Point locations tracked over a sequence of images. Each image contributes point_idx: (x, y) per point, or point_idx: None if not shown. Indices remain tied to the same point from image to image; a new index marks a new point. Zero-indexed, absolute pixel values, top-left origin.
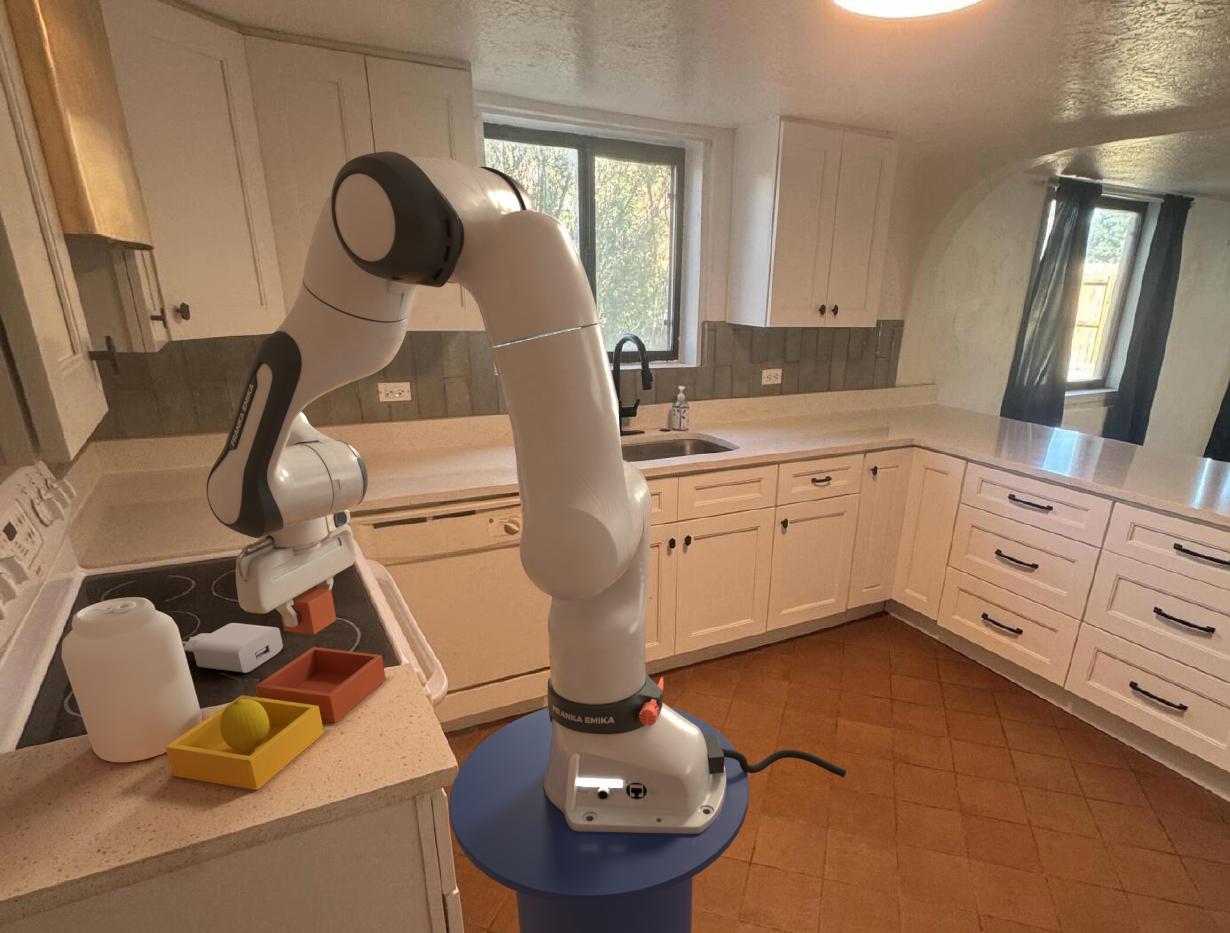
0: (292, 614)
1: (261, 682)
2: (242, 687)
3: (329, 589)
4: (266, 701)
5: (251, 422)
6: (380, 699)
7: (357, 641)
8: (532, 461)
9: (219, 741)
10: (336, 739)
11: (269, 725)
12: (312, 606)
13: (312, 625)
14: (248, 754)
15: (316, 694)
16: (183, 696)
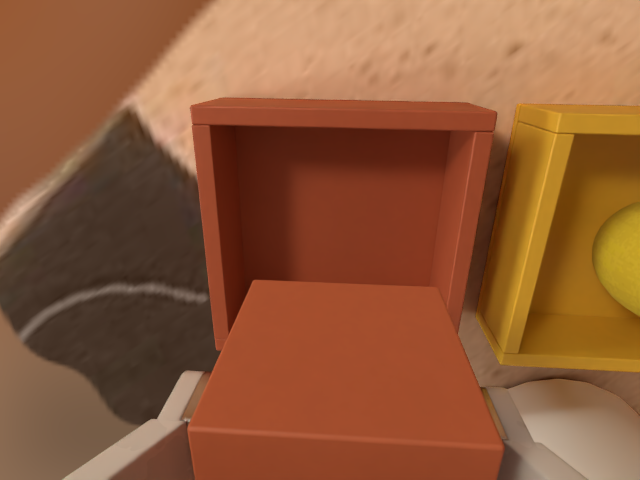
0: (550, 456)
1: None
2: None
3: (134, 451)
4: (534, 287)
5: None
6: (324, 44)
7: (74, 300)
8: None
9: (582, 317)
10: (547, 45)
11: (633, 211)
12: (448, 404)
13: (448, 318)
14: None
15: (486, 168)
16: (602, 467)
